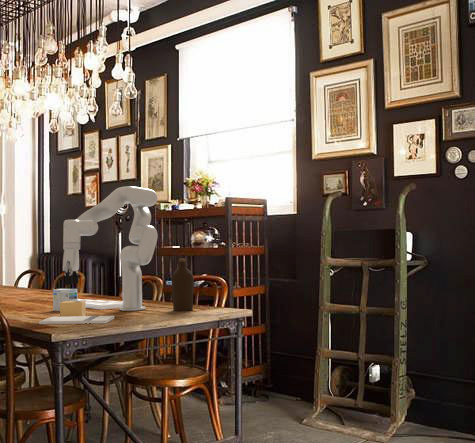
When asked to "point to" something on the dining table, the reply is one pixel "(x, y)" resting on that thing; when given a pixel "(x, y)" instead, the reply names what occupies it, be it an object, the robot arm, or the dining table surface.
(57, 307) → the light bulb box
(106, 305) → the holder
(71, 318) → the white flat panel
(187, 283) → the olive oil
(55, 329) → the dining table surface
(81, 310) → the tan rectangular block
